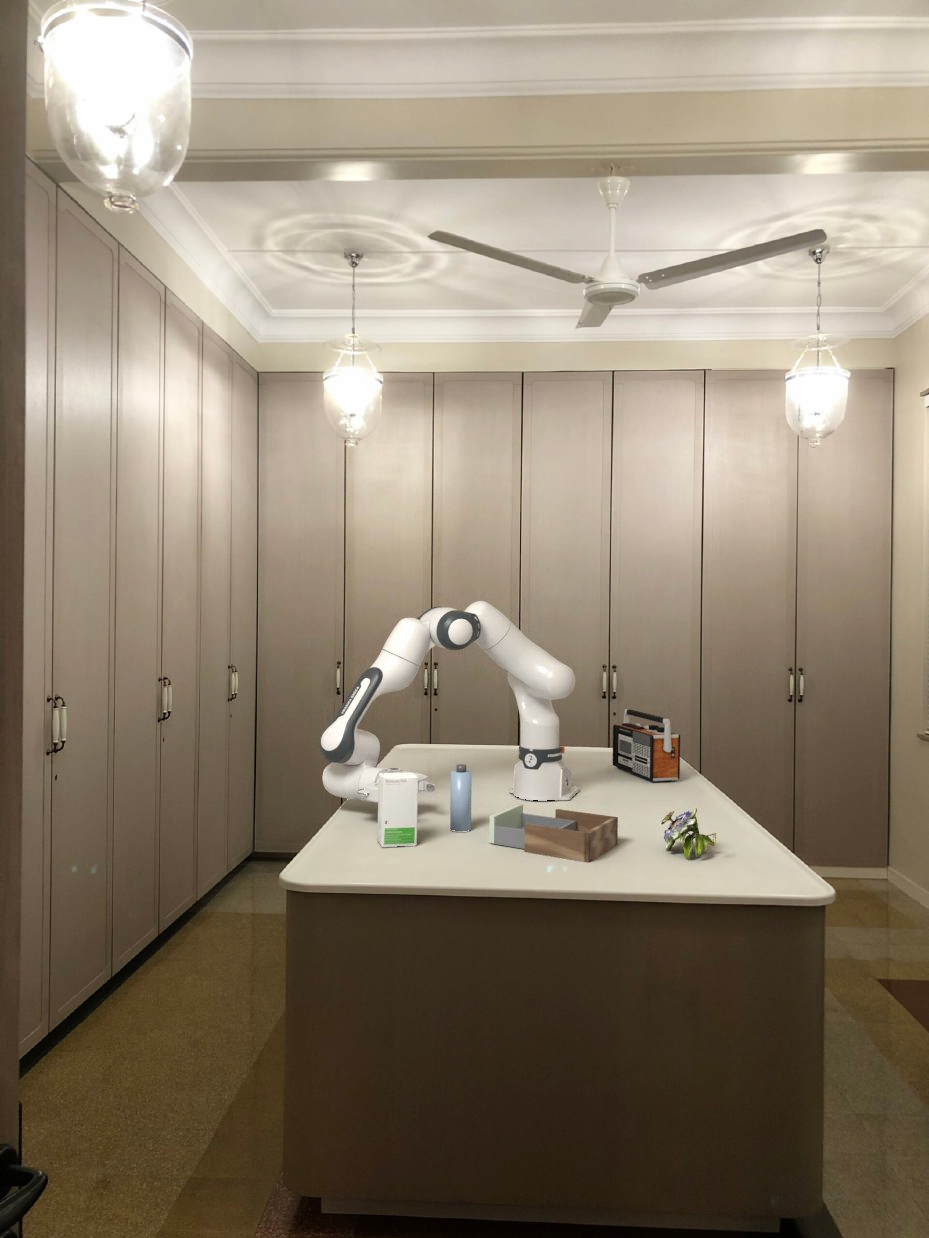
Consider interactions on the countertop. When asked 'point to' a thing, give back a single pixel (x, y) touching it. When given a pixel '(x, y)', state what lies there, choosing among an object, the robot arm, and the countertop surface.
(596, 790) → the countertop surface
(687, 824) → the passion flower
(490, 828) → the drawer
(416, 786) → the skincare box
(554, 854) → the brown open box
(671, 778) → the radio cassette player
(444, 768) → the countertop surface
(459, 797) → the lotion bottle
